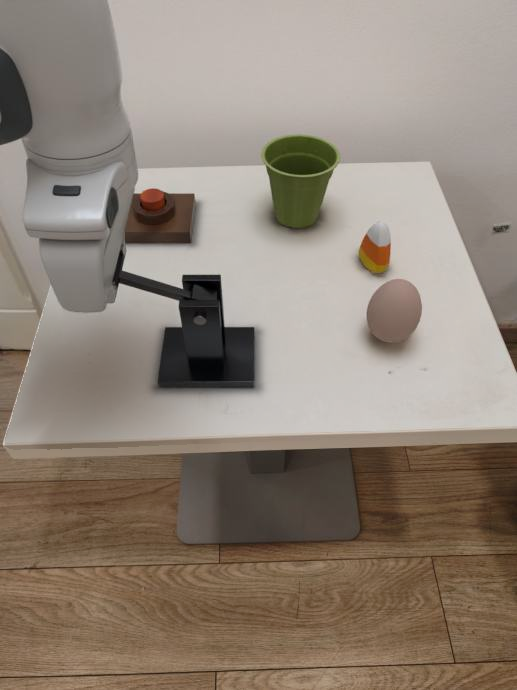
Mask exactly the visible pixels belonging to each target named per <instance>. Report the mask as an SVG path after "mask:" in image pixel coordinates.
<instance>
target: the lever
mask: <svg viewBox="0 0 517 690" xmlns="http://www.w3.org/2000/svg"><path fill="white" fill-rule="evenodd" d="M124 263H125V259H124V258H123V257H122V256H121V255H119V256H118V260H117V264H116V269H115V273H114V277H113V281H112V282H115V284H116V289H117V291H118V289H119V285H124V286H126V287H130V288H134V289H137V290H140V291H144V292H147V293H151V294H155V295H158V296H161V297H164V298H168V299H171V300H174V301H177V302H179V300H216V299H217V291H215V290H211V289H208V288H205V287H202V286H199V285H195V284H194V285H193V287H192V289H191V291H188V290H185V289H183V288H182V287H178V286H174V285H172V284H168V283H165V282H161V281H158V280H155V279H152V278H148V277H145V276H142V275H139V274H135V273H132V272H129V271H125V270H123V268H124V265H125V264H124Z"/></svg>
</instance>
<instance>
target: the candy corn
mask: <svg viewBox="0 0 517 690" xmlns="http://www.w3.org/2000/svg"><path fill="white" fill-rule="evenodd" d="M391 246H392V239H391V231H390V228H389V226H388V224H387V223H385V222H384V221H383V220H380V221H377V222H375V223H373V224H372V225H371V226H370V227H369V228H368V230H367V232H366V233H365V235H364V237H362V240H361V243H360V246H359V248H358V257H359V259H360V261H361V263H362V265H363V267H365V268H366V269H367V270H369V272H372V273H373V274H383V273H384V272H385V271H386V270H387V269H388V268H389V267H390V261H391V250H392V249H391Z"/></svg>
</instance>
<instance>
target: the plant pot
mask: <svg viewBox="0 0 517 690" xmlns="http://www.w3.org/2000/svg"><path fill="white" fill-rule="evenodd" d="M261 160H262V162H263V164H264V165H265V170H266V173H267V176H268V178H269V179H268V180H269V187H270V194H271V199H272V205H273V212H274V218H275V219H276V221H277V222H278V223H279V224H281V225H282V226H287V227H291V228H293V229H304V228H308V227H310V226H312V225H314V224H315V223H316V221H317V219H318V218H319V215H320V213H321V208H322V206H323V203H324V199H325V195H326V193H327V189H328V185H329V183H330V179H331V178H332V176H333V174H334V171H335V169H336V168H337V167H338V166H339V163H340V162H341V153H340V151H339V149H338V147H336V145H335V144H333V143H331V142H330V141H328V140H326V139H324V138H322V137H320V136H319V137H318V136H315V135H310V134H302V133H301V134H300V133H298V134H297V133H296V134H287V135H282V136H277V137H276V138H274V139H272V140H270V141H268V142H267V143H266V144H265V145H264V147H262V150H261Z"/></svg>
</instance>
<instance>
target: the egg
mask: <svg viewBox="0 0 517 690" xmlns="http://www.w3.org/2000/svg"><path fill="white" fill-rule="evenodd" d="M422 314H423V303H422V298H421V294H420V292H419V290H418V288H417V286H415V285H414V283H412V282H411V281H408V280H407V279H404V278H393V279H390V280H388V281H386V282H384V283H382V285H380V286H378V288H377V289H376V290H375V292H374V293H372V295H371V297H370V299H369V301H368V305H367V308H366V323H367V326H368V329H369V330H370V332H371V333H372V334H373V336H374V337H375V338H377V340H379V341H382V342H386V343H398V342H402V341H404V340H406V339H407V338H409V337H410V336H411V335H412V334H413V333H414V332H415V331H416V329H417V327H418V325H419V324H420V321H421V319H422Z"/></svg>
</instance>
